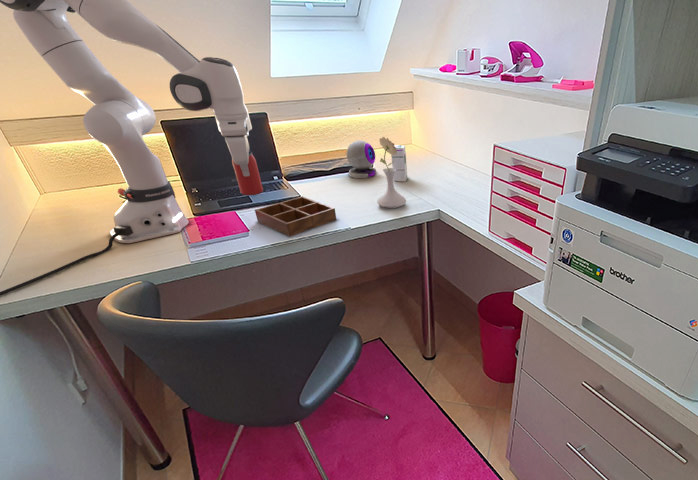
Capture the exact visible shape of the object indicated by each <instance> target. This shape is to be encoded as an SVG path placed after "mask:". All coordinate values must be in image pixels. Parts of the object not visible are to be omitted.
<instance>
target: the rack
mask: <svg viewBox="0 0 698 480" xmlns="http://www.w3.org/2000/svg"><path fill="white" fill-rule="evenodd" d="M254 213H255V216H256V220H257V222H258V223H259V224H261V225H264V226H266V227H268V228H269V229H271V230H274V231H276V232H278V233H280V234H283V235H284V236H287V237H290V238H291V237H293V236H295V235H299V234H301V233H304V232H307V231H310V230H312V229H315V228H319V227H321V226H324V225H327V224H329V223H332V222H335V221H337V214H336V208H335V207H333V206H330V205H327V204H324V203H322V202H319V201H317V200H314V199H311V198H309V197H306V196H303V195H302V196H297V197H295V198H291V199H288V200H285V201H281V202H277V203H274V204H270V205H266V206H264V207H260V208H257V209H254Z"/></svg>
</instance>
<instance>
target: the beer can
mask: <svg viewBox="0 0 698 480" xmlns="http://www.w3.org/2000/svg"><path fill="white" fill-rule="evenodd" d="M231 163H232V167H233V170H234V174H235V178H236V181H237V184H238V188H239V192H240V193H241V195H244V196H248V197H249V196H251V197H252V196H257V195H261V193H263V191H264V188H263V184H262V179H261V176H260V171H259V168H258V164H257V160H256V158H255V156H254V155H253V152H252V151H249V163H248V169H249V172H250V176H243V173H242V170H241V167H240V165H236V164H235V163H234V161H233V159H232V158H231Z"/></svg>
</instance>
